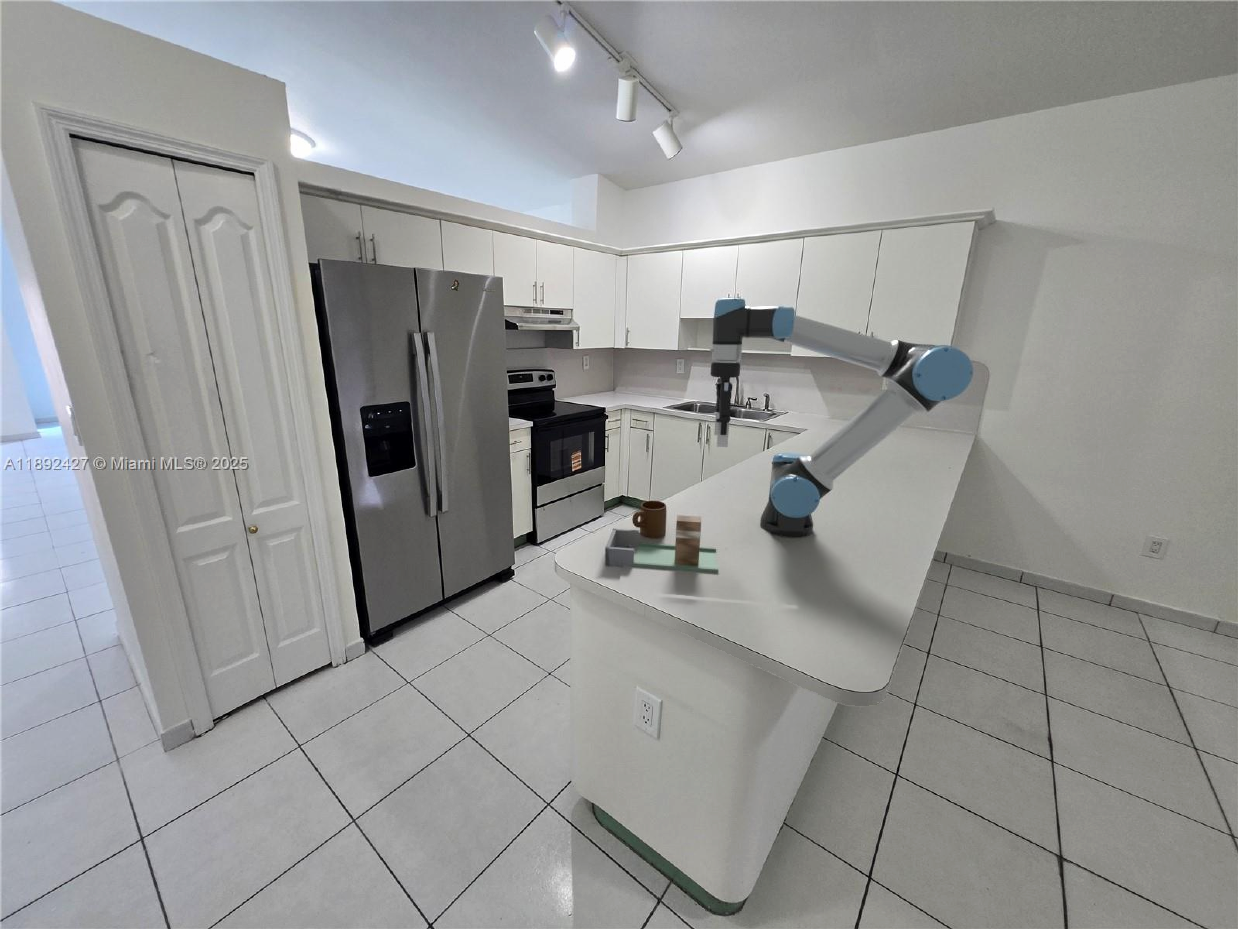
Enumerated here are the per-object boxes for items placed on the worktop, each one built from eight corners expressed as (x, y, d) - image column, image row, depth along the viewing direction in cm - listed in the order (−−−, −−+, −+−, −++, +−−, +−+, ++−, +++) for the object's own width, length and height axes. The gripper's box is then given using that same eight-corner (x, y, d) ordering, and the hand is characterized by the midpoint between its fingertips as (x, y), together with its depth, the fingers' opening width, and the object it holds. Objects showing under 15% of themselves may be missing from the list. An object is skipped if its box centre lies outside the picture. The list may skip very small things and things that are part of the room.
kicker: (698, 559, 120) (701, 516, 117) (698, 566, 117) (701, 522, 113) (674, 557, 121) (676, 515, 118) (674, 564, 117) (676, 520, 114)
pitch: (715, 552, 125) (716, 535, 124) (718, 574, 114) (719, 556, 112) (612, 545, 129) (612, 528, 128) (605, 566, 118) (605, 548, 116)
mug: (642, 547, 128) (643, 516, 125) (623, 539, 133) (623, 508, 130) (671, 535, 136) (672, 505, 133) (652, 527, 141) (652, 498, 138)
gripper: (709, 358, 133) (705, 430, 139) (713, 364, 109) (708, 451, 115) (736, 358, 132) (730, 431, 138) (746, 365, 108) (739, 452, 114)
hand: (720, 440), depth 127 cm, fingers open, 13 cm apart
